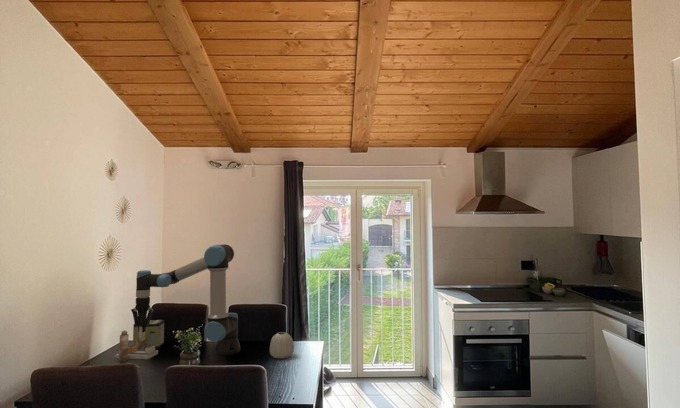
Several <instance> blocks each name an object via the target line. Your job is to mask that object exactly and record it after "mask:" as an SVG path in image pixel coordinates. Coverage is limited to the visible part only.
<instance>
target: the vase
mask: <svg viewBox="0 0 680 408" xmlns="http://www.w3.org/2000/svg"><path fill="white" fill-rule="evenodd" d="M269 344H270V345H269V354H270V356H272V358H274V359H278V360H279V359H281V360H283V359H288V358H290V357H291V356H292V354H293V353H294V352H295V351H294V350H295V347H294V346H295V345H294V340H293V338H292V336H291V335H290V334H289V333H287V332H284V331H281V332H277V333H276V334H274V335H273V336H272V338H271V340H270V343H269Z"/></svg>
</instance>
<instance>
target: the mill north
mask: <svg viewBox="0 0 680 408" xmlns="http://www.w3.org/2000/svg"><path fill="white" fill-rule="evenodd" d="M129 335H130V334H128V331H127V330H123V331H121V333H120V335H119V346H118V347H119V348H118V353H119V358H118V362H120V363H122V362H126V361H128V347H129Z"/></svg>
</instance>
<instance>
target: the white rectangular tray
mask: <svg viewBox="0 0 680 408" xmlns="http://www.w3.org/2000/svg"><path fill="white" fill-rule="evenodd" d="M158 354H159V350H158V349H155V351H154V352H152V353H145V350H137V351H136V352H133V353H128V359H130V360H131V359H132V360H150V359H151V358H153V357H155V356H157V355H158ZM114 358H115V359H119V352H117V353H116V354H115V355H114Z"/></svg>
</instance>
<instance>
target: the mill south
mask: <svg viewBox="0 0 680 408" xmlns="http://www.w3.org/2000/svg"><path fill="white" fill-rule="evenodd" d="M137 345H138V346H137V350H145V332H144V337H143V338H139V332H138V328H137Z"/></svg>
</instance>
